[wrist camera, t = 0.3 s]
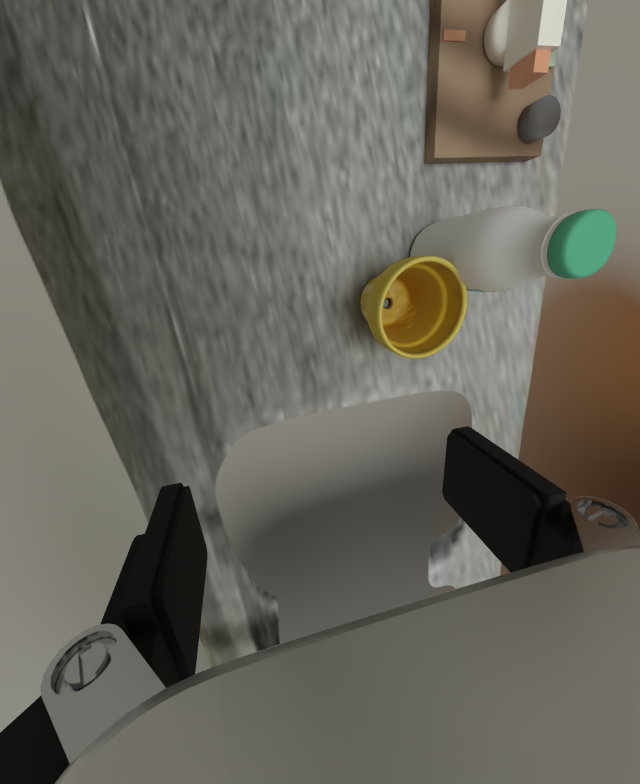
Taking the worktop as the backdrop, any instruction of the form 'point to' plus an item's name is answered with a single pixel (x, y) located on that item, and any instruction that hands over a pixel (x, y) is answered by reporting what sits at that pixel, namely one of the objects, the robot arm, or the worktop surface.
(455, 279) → the plant pot
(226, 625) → the worktop surface
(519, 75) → the wing knob
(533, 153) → the brown lever switch panel
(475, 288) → the milk bottle
